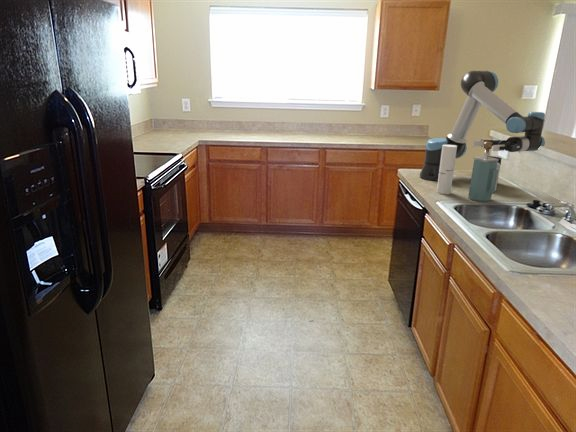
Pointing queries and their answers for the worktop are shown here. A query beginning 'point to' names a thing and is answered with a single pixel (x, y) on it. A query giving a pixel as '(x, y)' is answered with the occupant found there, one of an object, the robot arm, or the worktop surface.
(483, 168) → the press pot
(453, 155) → the cylindrical container
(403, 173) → the worktop surface
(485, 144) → the plunger
